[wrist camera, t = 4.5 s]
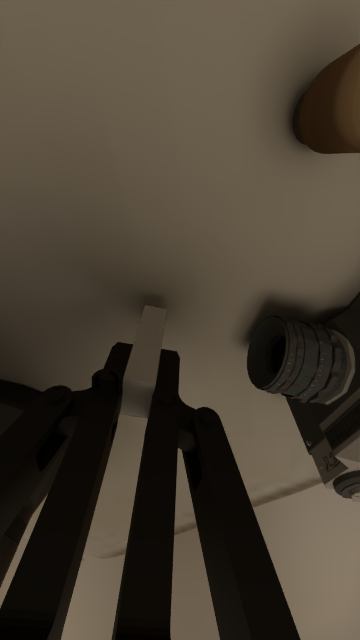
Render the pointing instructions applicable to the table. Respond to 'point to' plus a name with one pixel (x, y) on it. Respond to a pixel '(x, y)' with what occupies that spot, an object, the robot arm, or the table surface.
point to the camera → (317, 388)
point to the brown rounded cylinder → (332, 108)
